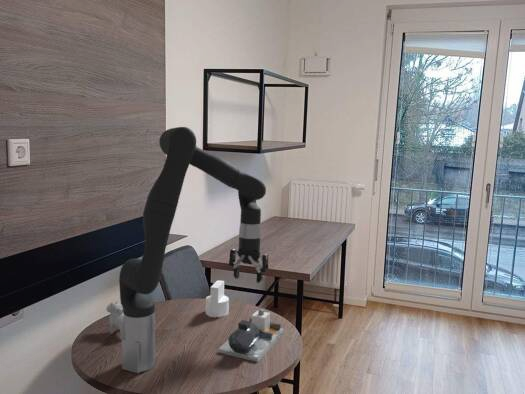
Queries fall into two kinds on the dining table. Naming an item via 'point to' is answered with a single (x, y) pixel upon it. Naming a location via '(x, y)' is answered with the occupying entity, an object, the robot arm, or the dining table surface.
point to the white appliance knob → (217, 301)
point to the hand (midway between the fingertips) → (247, 280)
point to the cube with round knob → (261, 320)
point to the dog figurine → (116, 318)
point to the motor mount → (251, 340)
